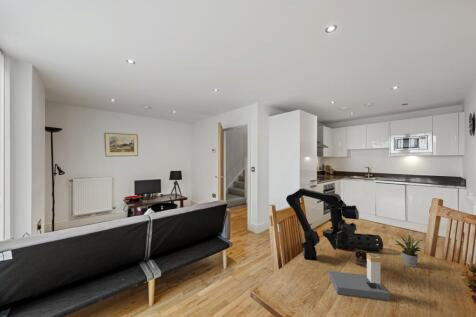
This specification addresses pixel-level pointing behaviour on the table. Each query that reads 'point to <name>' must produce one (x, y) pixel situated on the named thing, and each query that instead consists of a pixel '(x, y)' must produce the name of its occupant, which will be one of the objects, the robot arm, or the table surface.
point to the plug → (373, 268)
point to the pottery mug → (359, 254)
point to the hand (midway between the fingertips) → (340, 247)
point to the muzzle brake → (361, 242)
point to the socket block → (357, 286)
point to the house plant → (409, 251)
